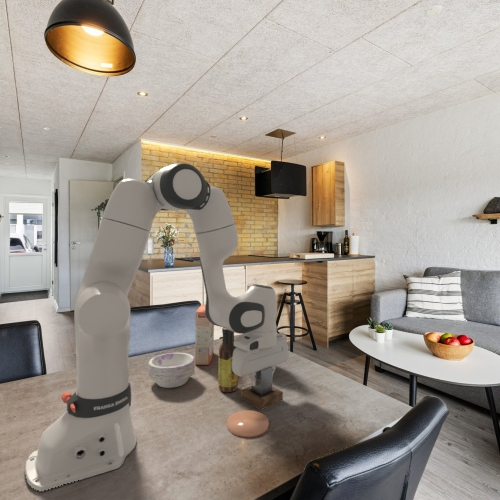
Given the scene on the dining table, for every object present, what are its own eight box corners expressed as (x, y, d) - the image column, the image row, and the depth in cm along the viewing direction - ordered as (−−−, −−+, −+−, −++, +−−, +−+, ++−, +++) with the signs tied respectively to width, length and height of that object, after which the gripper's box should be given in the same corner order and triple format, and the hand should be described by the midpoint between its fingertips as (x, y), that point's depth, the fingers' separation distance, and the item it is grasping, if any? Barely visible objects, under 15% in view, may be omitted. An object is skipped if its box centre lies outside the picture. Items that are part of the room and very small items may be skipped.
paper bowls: (168, 370, 122) (168, 348, 122) (203, 377, 116) (203, 355, 116) (138, 386, 109) (138, 363, 108) (176, 396, 102) (175, 371, 102)
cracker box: (210, 365, 126) (210, 311, 126) (194, 365, 127) (194, 311, 126) (214, 352, 140) (214, 304, 140) (200, 352, 140) (200, 304, 140)
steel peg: (261, 404, 98) (261, 370, 97) (251, 398, 101) (251, 366, 101) (272, 399, 101) (272, 367, 100) (262, 393, 104) (262, 362, 104)
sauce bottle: (234, 394, 104) (235, 331, 103) (215, 392, 105) (215, 330, 104) (239, 385, 110) (239, 326, 109) (221, 383, 111) (221, 325, 111)
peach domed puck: (244, 442, 79) (244, 439, 79) (218, 422, 88) (218, 419, 88) (277, 426, 86) (277, 423, 86) (250, 409, 95) (250, 406, 95)
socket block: (260, 409, 95) (260, 401, 94) (241, 397, 101) (241, 389, 101) (282, 399, 100) (282, 391, 100) (262, 389, 107) (263, 381, 107)
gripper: (279, 329, 109) (278, 370, 110) (229, 341, 96) (228, 388, 97) (293, 333, 104) (292, 376, 105) (242, 347, 91) (242, 396, 92)
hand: (261, 382), depth 101 cm, fingers closed on steel peg, 4 cm apart
